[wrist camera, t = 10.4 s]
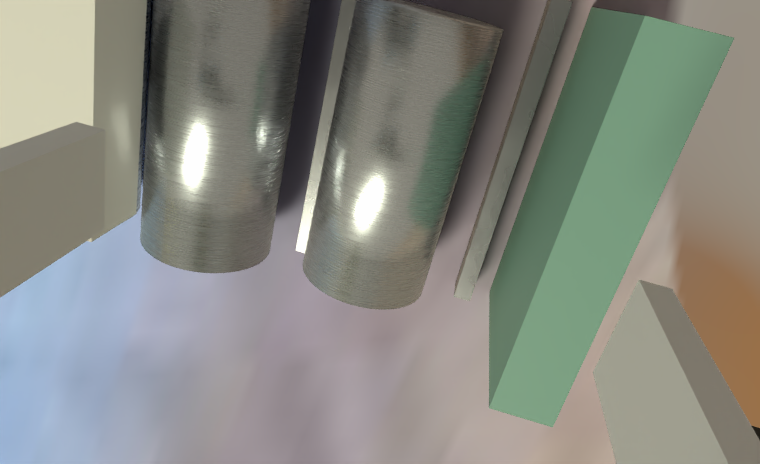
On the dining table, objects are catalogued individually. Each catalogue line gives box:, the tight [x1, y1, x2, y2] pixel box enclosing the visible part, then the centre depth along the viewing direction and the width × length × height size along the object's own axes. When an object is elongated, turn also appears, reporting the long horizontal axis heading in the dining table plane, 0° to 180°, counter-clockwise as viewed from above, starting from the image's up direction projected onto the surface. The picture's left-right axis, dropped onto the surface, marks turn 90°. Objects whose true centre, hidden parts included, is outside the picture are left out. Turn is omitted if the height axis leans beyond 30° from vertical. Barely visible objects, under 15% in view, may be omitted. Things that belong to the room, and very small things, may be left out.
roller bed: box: [127, 0, 311, 273], centre depth 25 cm, size 14×21×6 cm, turn 77°
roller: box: [303, 0, 503, 309], centre depth 25 cm, size 12×6×6 cm, turn 167°
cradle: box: [296, 0, 572, 301], centre depth 26 cm, size 14×9×2 cm, turn 167°
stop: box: [489, 7, 734, 427], centre depth 22 cm, size 14×2×9 cm, turn 167°
